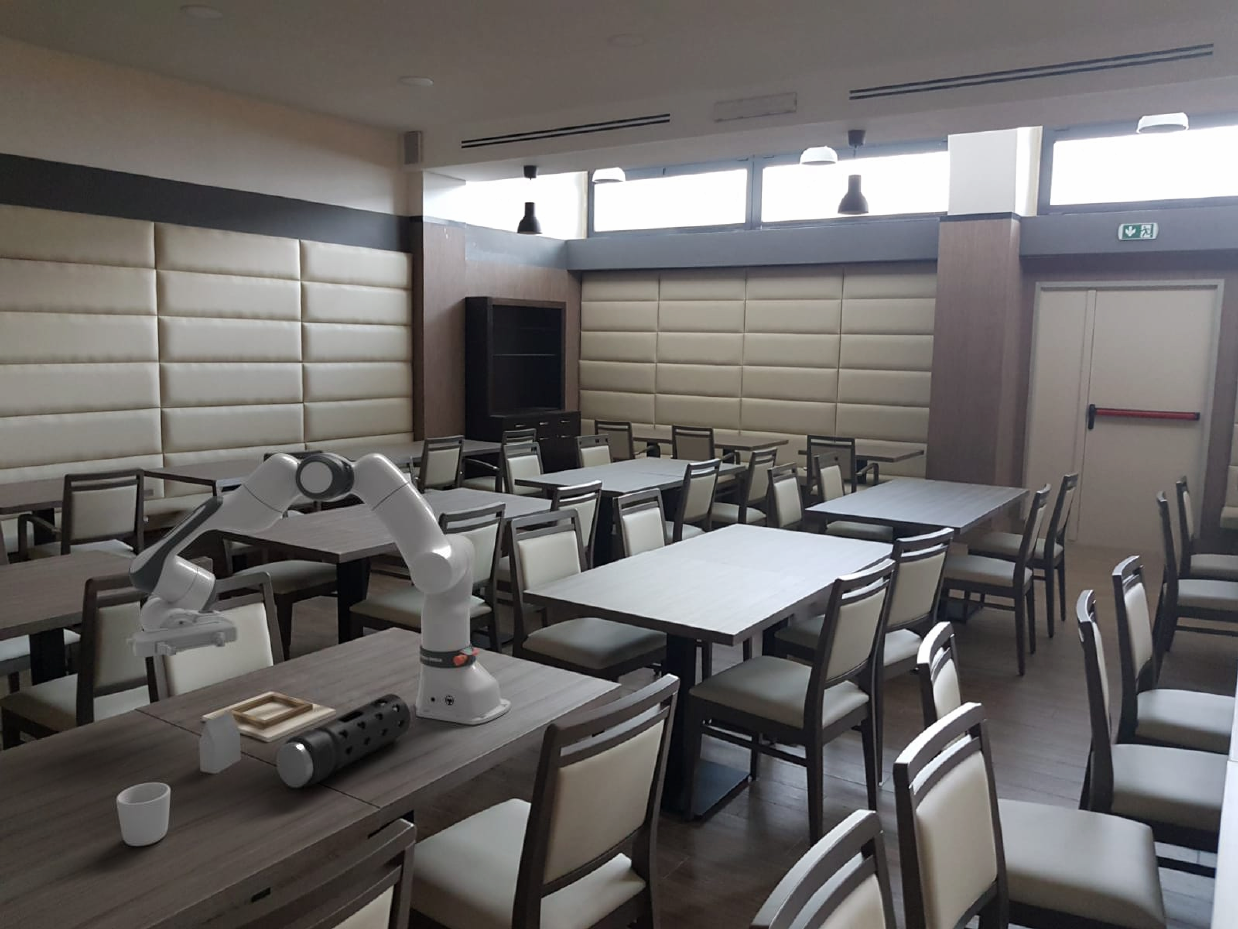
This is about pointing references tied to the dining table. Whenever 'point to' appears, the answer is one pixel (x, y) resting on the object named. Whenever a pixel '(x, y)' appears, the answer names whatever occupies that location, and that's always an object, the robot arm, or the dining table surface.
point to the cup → (144, 813)
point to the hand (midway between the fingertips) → (197, 647)
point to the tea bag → (219, 743)
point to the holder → (273, 715)
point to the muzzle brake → (341, 741)
